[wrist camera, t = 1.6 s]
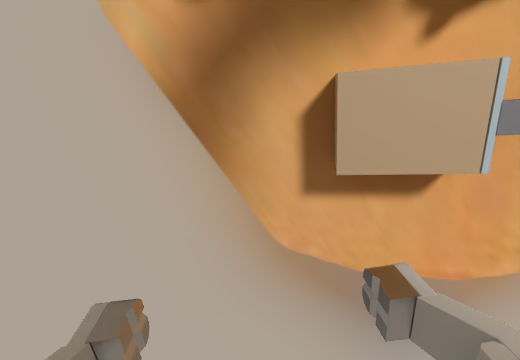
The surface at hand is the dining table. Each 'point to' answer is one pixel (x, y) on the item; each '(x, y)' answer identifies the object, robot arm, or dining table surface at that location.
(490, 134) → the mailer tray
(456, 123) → the sleeve
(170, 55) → the dining table surface
